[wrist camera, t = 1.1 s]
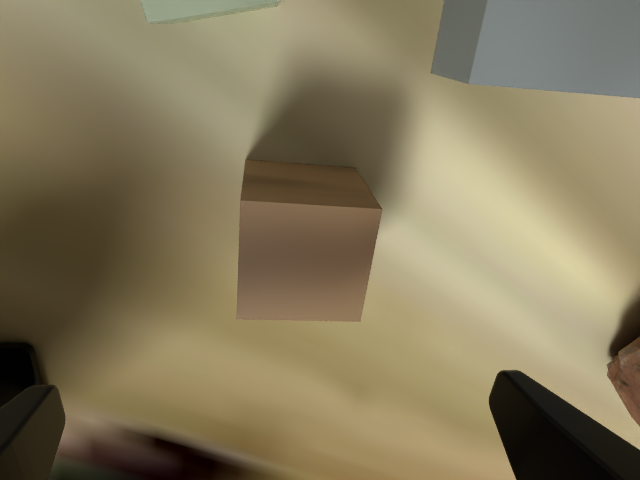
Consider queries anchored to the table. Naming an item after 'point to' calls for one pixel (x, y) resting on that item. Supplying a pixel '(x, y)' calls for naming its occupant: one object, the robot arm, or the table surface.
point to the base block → (542, 45)
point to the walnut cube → (304, 242)
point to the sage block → (197, 9)
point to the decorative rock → (627, 377)
